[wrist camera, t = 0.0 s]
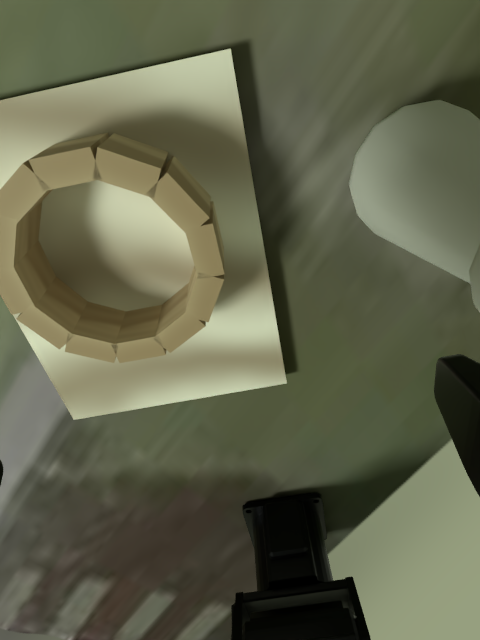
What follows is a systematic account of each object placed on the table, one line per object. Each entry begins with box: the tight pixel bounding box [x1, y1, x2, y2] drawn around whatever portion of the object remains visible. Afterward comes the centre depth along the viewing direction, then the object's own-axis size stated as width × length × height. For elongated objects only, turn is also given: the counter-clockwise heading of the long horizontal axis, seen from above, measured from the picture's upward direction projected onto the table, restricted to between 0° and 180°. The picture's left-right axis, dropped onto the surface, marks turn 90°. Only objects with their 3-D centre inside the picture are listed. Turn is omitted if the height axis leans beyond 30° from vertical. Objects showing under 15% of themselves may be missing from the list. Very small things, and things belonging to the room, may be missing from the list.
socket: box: [0, 49, 287, 420], centre depth 21 cm, size 18×14×4 cm
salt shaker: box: [349, 100, 480, 312], centre depth 15 cm, size 6×6×13 cm
